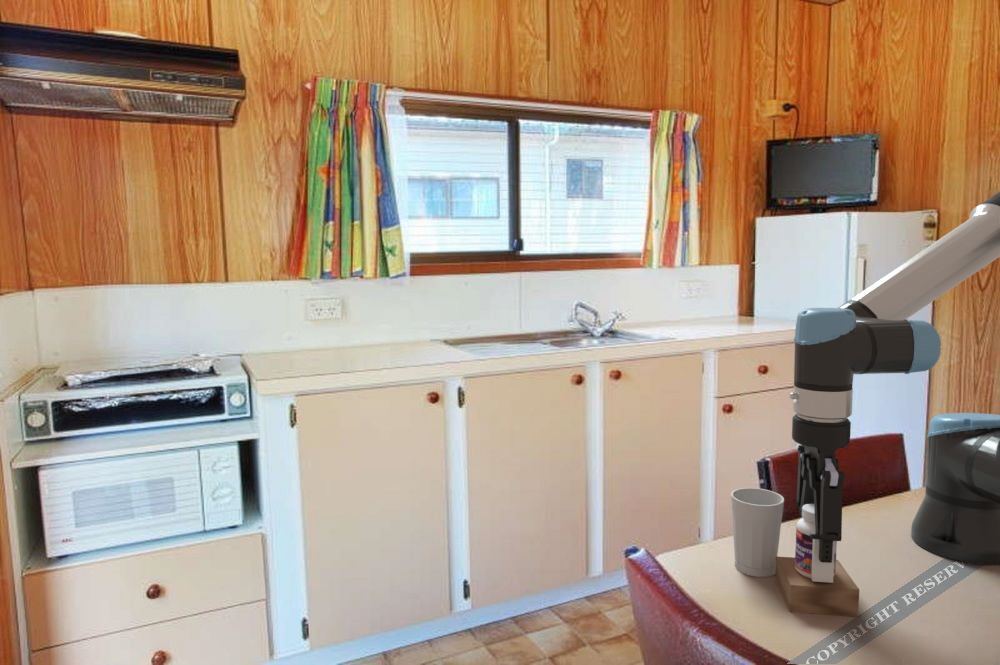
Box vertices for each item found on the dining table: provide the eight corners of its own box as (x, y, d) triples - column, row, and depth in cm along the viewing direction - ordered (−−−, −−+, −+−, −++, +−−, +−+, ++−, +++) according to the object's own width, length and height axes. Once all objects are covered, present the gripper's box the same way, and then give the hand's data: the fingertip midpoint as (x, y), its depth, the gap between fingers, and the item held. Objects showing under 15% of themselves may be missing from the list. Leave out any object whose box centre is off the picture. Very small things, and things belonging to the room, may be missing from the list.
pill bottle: (786, 568, 98) (788, 505, 97) (812, 560, 100) (815, 499, 99) (816, 584, 93) (819, 518, 92) (843, 576, 95) (846, 511, 94)
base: (837, 584, 100) (838, 560, 100) (858, 616, 92) (859, 589, 91) (775, 580, 102) (775, 556, 102) (789, 611, 93) (790, 585, 93)
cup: (787, 581, 102) (789, 507, 100) (733, 577, 103) (734, 504, 102) (776, 558, 110) (778, 489, 108) (726, 554, 111) (727, 486, 110)
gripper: (777, 401, 103) (773, 541, 106) (812, 432, 85) (806, 601, 88) (828, 402, 102) (823, 544, 105) (874, 434, 84) (866, 605, 86)
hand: (815, 569), depth 96 cm, fingers open, 6 cm apart
